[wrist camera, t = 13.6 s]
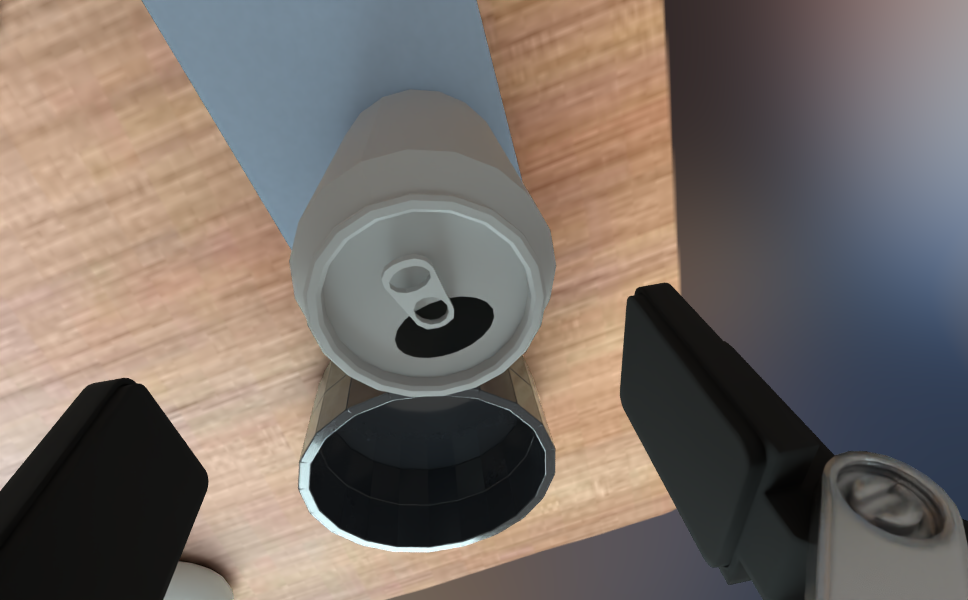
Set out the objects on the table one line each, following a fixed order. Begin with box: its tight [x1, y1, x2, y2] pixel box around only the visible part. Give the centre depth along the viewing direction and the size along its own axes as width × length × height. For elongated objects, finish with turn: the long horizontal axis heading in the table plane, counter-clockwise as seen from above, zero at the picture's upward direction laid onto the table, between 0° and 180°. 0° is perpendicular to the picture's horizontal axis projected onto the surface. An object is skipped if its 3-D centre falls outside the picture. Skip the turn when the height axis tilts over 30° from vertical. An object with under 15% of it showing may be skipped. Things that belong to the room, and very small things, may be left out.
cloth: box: [142, 0, 522, 250], centre depth 20 cm, size 18×12×1 cm, turn 17°
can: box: [289, 89, 556, 397], centre depth 17 cm, size 8×8×12 cm
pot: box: [298, 355, 555, 552], centre depth 28 cm, size 14×14×6 cm
